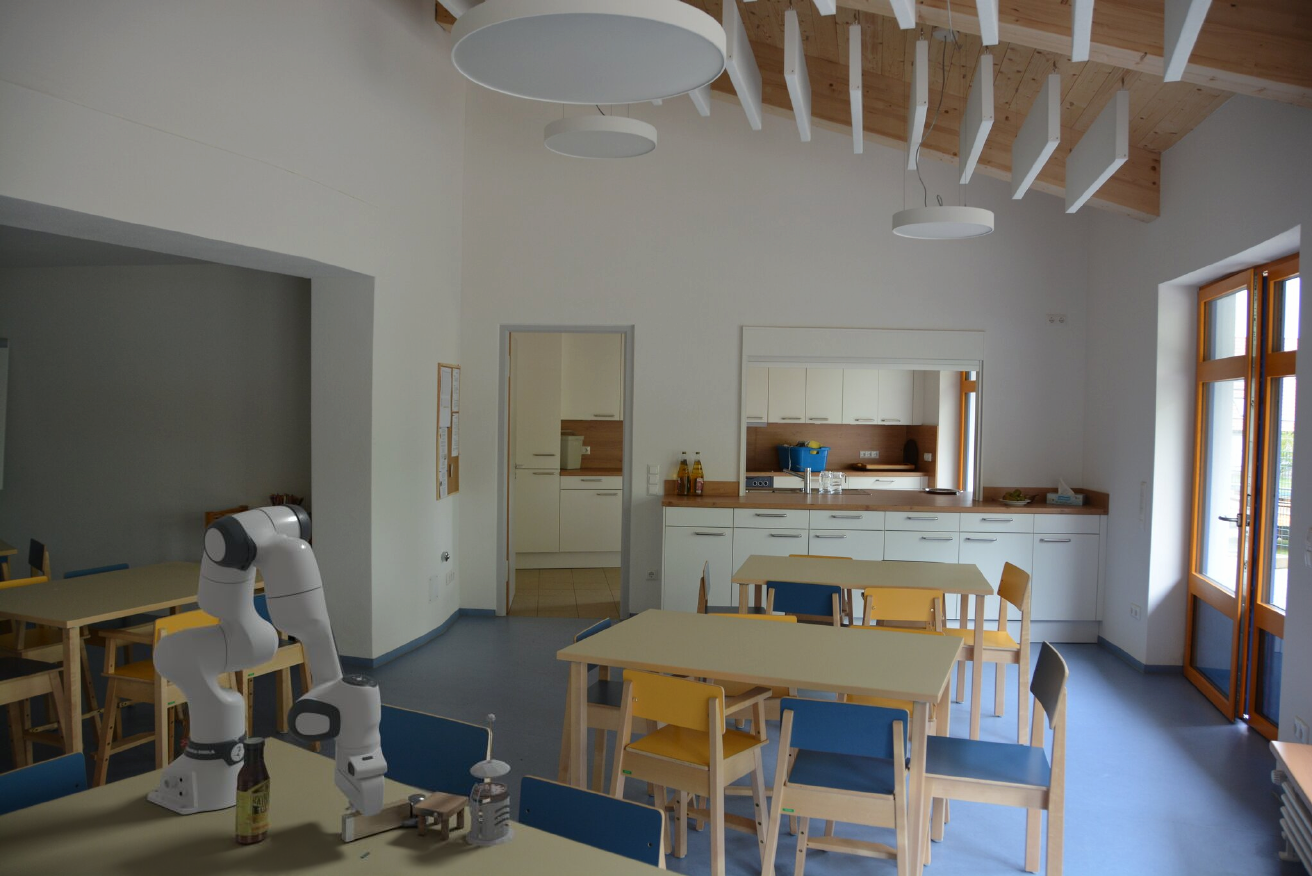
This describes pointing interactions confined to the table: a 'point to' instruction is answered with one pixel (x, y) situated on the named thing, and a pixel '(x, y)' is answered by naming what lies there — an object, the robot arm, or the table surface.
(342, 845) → the table surface
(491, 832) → the french press
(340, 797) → the table surface
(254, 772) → the sauce bottle
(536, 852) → the table surface
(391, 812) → the cam lever
